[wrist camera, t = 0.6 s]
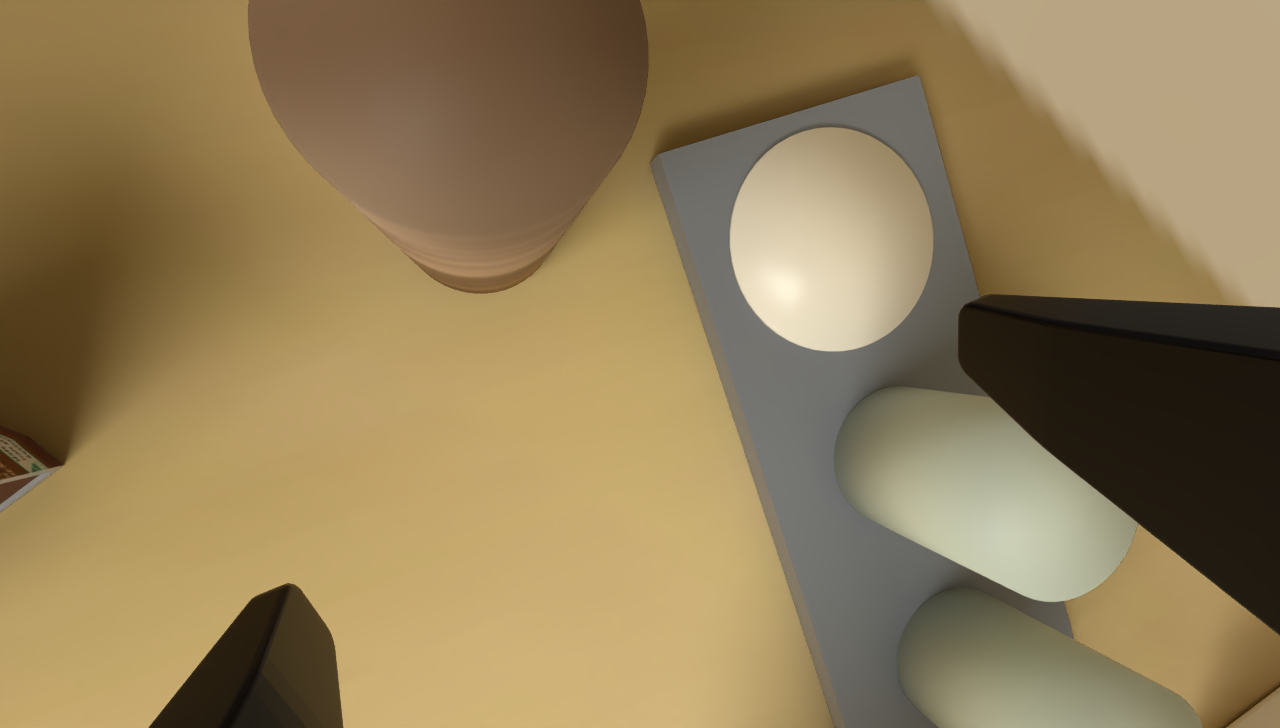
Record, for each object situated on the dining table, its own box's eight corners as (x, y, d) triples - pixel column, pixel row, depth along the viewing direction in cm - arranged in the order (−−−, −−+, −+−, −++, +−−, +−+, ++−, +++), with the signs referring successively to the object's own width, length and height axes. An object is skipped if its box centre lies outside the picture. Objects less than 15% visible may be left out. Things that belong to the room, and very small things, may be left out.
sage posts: (1027, 683, 25) (1225, 812, 18) (918, 742, 24) (1084, 901, 18) (936, 366, 24) (1116, 379, 17) (816, 415, 23) (954, 450, 16)
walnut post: (577, 265, 22) (695, 174, 9) (430, 314, 21) (338, 285, 8) (526, 118, 21) (577, -194, 9) (372, 161, 20) (180, -119, 8)
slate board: (1059, 663, 27) (1089, 681, 26) (850, 775, 25) (871, 800, 24) (898, 87, 24) (922, 72, 23) (649, 163, 22) (660, 152, 21)
